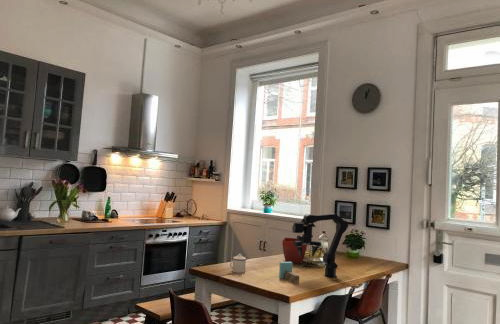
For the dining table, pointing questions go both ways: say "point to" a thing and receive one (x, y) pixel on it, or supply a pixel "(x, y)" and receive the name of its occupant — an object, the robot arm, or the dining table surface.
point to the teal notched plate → (285, 268)
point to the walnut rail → (291, 277)
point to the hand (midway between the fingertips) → (306, 256)
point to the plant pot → (292, 251)
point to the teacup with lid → (238, 264)
